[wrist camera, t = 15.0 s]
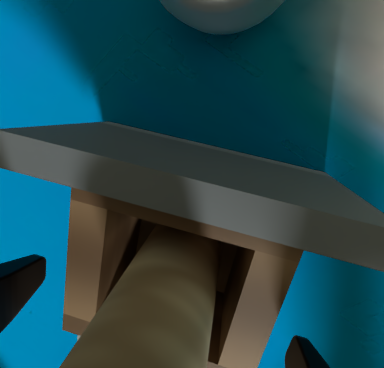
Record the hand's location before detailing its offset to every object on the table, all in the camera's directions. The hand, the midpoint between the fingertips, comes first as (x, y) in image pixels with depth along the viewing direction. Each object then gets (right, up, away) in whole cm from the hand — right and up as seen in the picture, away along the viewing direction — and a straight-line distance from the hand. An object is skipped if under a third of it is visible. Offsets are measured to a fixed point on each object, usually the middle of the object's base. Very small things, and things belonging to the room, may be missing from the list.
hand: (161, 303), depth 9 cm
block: (+1, +2, +5) cm, 6 cm away
